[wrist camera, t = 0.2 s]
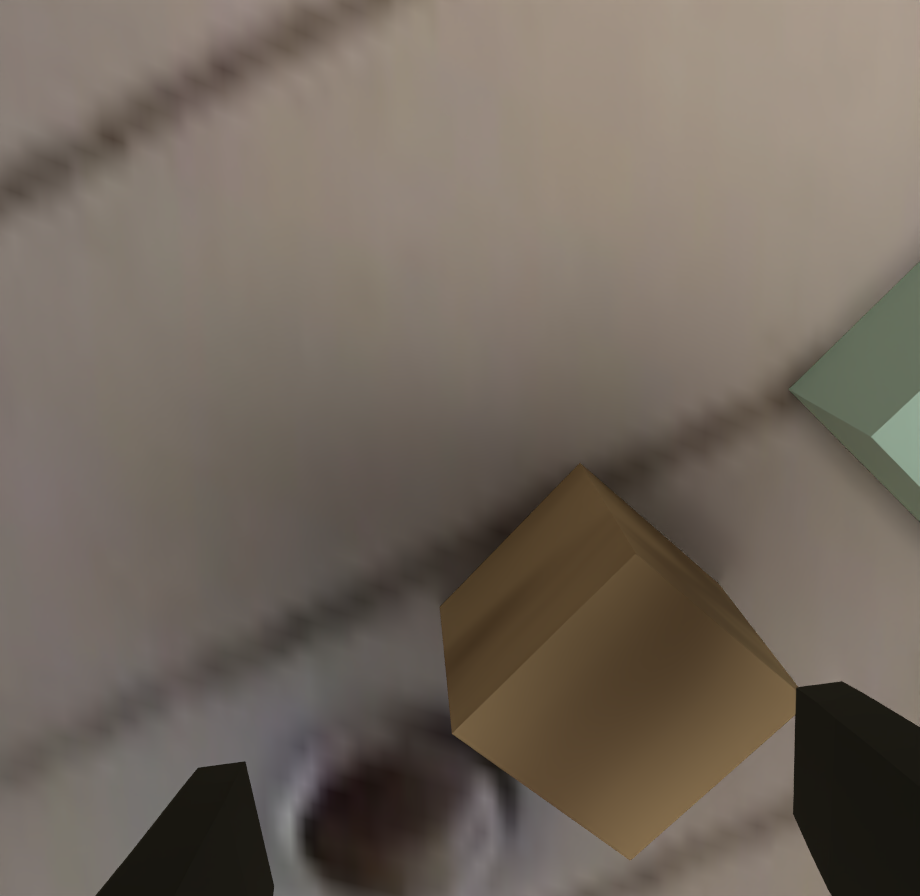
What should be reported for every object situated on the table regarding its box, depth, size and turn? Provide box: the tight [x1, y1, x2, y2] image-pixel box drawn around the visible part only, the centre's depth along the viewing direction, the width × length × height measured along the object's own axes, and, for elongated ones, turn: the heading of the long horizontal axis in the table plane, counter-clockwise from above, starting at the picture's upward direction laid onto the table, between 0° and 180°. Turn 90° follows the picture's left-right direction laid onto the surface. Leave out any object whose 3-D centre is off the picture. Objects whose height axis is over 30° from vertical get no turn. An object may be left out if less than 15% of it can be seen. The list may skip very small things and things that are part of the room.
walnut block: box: [440, 463, 798, 860], centre depth 19 cm, size 5×5×5 cm
